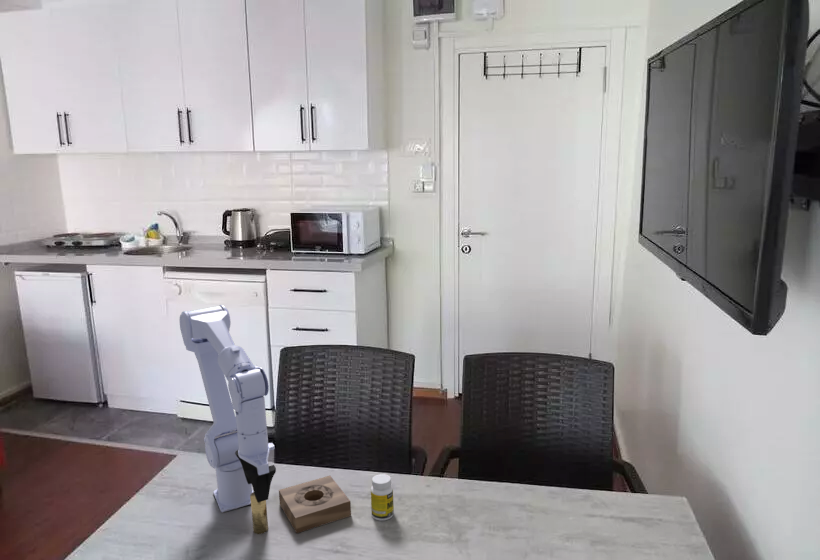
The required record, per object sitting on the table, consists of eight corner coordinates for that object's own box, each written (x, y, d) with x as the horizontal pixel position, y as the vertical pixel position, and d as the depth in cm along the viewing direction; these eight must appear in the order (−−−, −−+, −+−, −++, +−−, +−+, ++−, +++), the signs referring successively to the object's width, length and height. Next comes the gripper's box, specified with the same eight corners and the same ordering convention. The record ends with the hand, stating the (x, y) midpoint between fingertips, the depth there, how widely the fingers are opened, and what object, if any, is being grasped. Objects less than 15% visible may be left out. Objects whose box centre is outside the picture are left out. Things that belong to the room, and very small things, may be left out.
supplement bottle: (391, 522, 125) (389, 485, 123) (369, 520, 126) (367, 483, 124) (396, 509, 129) (394, 473, 128) (374, 507, 130) (373, 471, 129)
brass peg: (251, 528, 124) (248, 493, 123) (266, 523, 126) (263, 489, 124) (255, 535, 122) (252, 500, 120) (270, 531, 123) (267, 496, 121)
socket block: (279, 504, 132) (278, 490, 132) (331, 489, 138) (330, 475, 137) (296, 533, 122) (295, 518, 121) (351, 515, 128) (350, 500, 127)
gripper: (282, 438, 115) (287, 502, 117) (262, 411, 127) (267, 469, 130) (245, 447, 111) (251, 513, 114) (228, 418, 124) (234, 478, 127)
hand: (257, 491), depth 122 cm, fingers open, 7 cm apart
